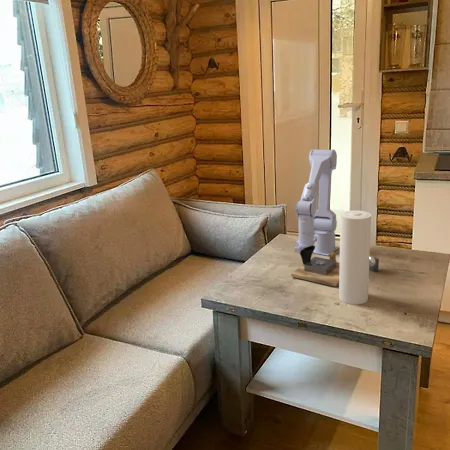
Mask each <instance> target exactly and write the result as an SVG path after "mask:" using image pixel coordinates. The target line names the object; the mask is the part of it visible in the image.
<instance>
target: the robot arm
mask: <svg viewBox="0 0 450 450" xmlns="http://www.w3.org/2000/svg"><path fill="white" fill-rule="evenodd" d="M337 159H338V154H337V151H336V150H335V148H334V149H315V148H312V149H310V151H309V154H308V160H309V161H308V162H309V165H310V173H309V179H308V182H307V183H305V184H304V187H303V191H302V194H301V196H300V200H298V201H297V202H296V205H295V214H296V219H297V221H298V227H297V228H298V239H297V240H296V241H295V243H297V244H296V246H295V247H294V252H295V253H296V254H297V253H298V254H299V255H300V257H301V261H302V265H303V264H306V263H307V262H308V261H310V260H311V259H312V255H313V254H317V255H322V256H327V257H328V256H330V252H335V251H336V250H338V247H336V230H337V225H338V224H337V223H338V221H337V214H336V212H334V211H333V210H331V193H332V192H331V191H332V174H333V171H334V170H336V168H337V163H338V161H337ZM318 184H319V185H318ZM317 199H318V202H317ZM317 205H318V206H317Z"/></svg>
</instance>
